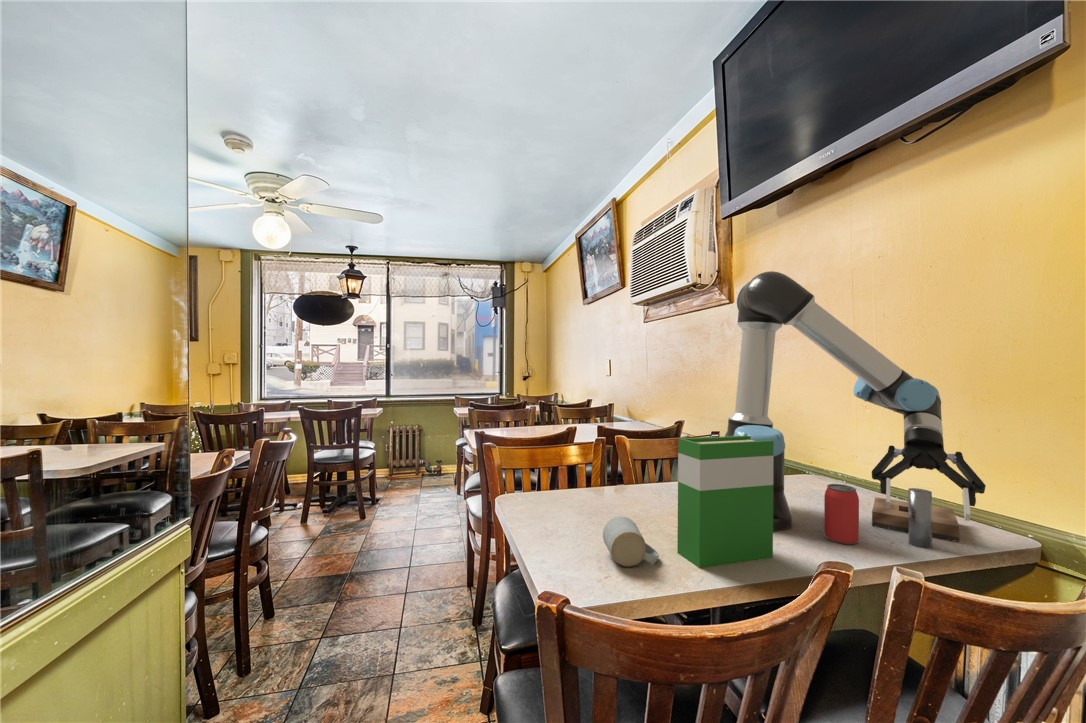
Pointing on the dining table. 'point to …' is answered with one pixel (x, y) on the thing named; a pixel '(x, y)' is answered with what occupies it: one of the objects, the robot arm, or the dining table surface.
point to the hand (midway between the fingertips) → (926, 511)
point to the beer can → (841, 514)
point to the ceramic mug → (627, 542)
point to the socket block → (898, 518)
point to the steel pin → (920, 517)
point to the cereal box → (725, 500)
